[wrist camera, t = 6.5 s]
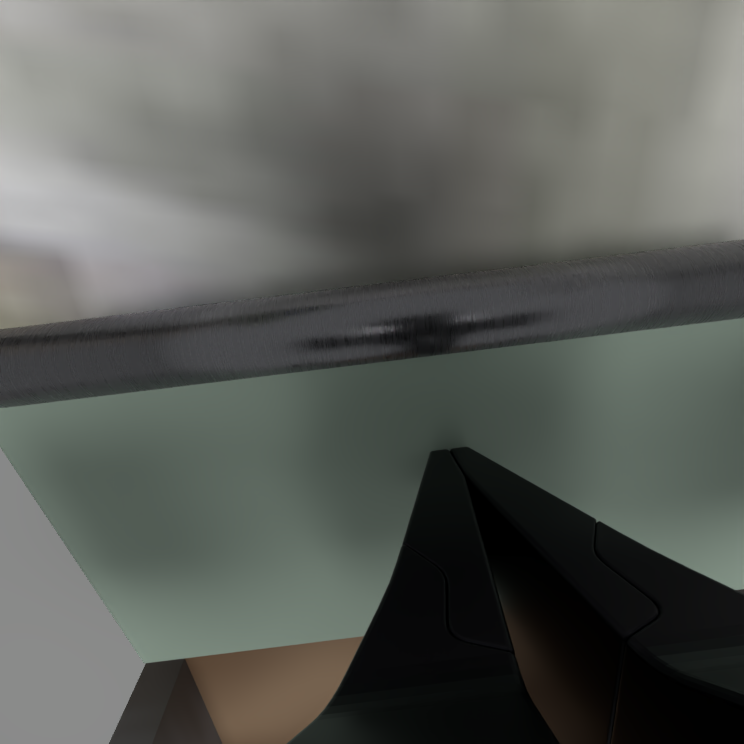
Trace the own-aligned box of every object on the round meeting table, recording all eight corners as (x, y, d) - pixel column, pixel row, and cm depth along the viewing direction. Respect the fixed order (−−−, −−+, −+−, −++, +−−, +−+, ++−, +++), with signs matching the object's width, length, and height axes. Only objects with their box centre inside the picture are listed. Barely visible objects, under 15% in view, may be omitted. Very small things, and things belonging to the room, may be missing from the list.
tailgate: (765, 593, 11) (964, 226, 7) (140, 671, 11) (-77, 352, 7) (717, 546, 13) (856, 217, 8) (164, 615, 13) (-3, 321, 8)
